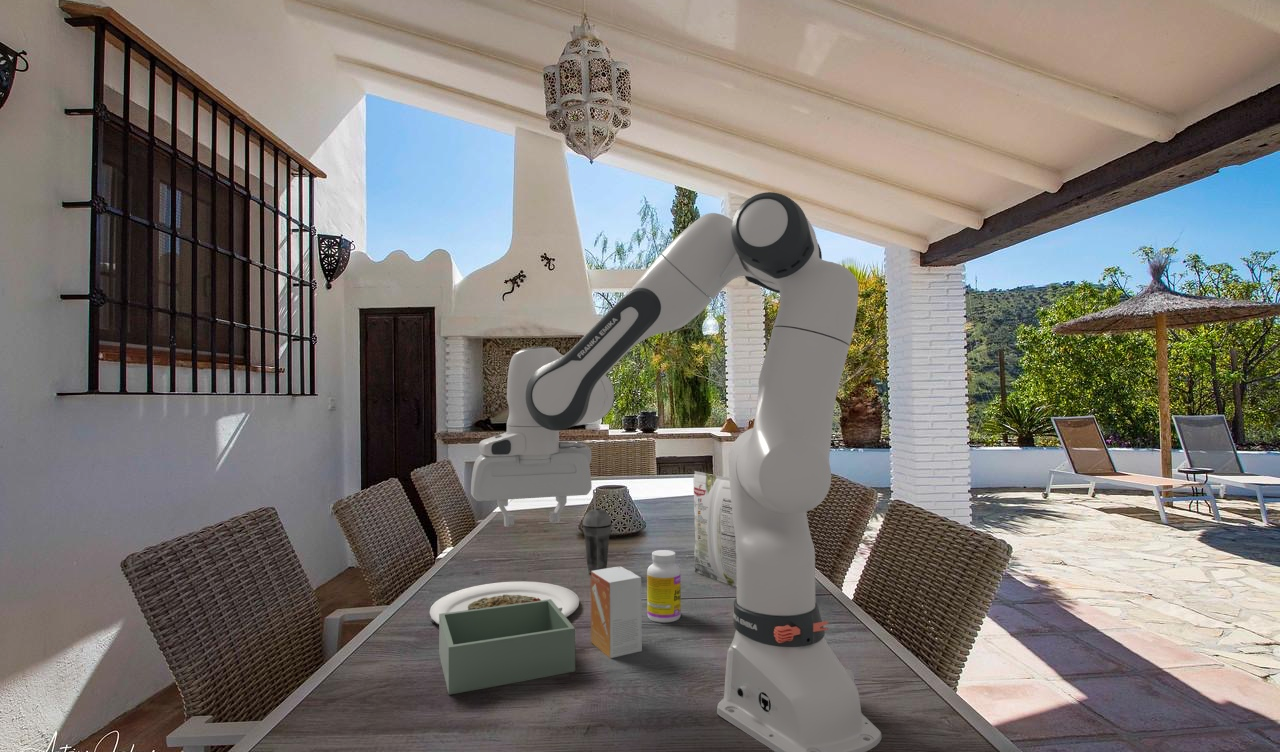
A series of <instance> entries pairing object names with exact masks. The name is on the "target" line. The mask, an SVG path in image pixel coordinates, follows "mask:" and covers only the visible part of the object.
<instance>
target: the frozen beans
mask: <svg viewBox="0 0 1280 752" xmlns="http://www.w3.org/2000/svg"><path fill="white" fill-rule="evenodd" d="M693 509H694V510H693V511H694V535H695V537H694V538H695V539H694V554H693V555H694V556H693V557H694V558H693V559H694V560H693V561H694V562H693V563H694V572H695V573H696V574H700V575H702V576H705V577H708V578H710V579H713V580H715V581H719V582H721V583H724V584H727V585H730V586H732V587H734V588H737V584H736V540H735V531H734V523H733V513H732V503H731V491H730V477H727V476H720V475H716V474H711V473H707V472H702V471H696V470H694V475H693Z"/></svg>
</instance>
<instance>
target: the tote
mask: <svg viewBox="0 0 1280 752" xmlns="http://www.w3.org/2000/svg"><path fill="white" fill-rule="evenodd" d="M561 611H562V610H560V608H558V607H557V606H556V605H555V604H554V602H553V601H552V600H551V599H548V600H541V601H533V602H526V603H518V604H510V605H503V606H495V607H488V608H480V609H473V610H465V611H457V612H450V613H442V614H439V624H438V625H439V626H438V631H439V632H438V633H439V634H438V649H439V650H438V653H439V654H438V656H439V660H440V664H441V668H442V673H443V676H444V681H445V684H446V689H447V693H448V695H449V696H450V695H454V694H461V693H465V692H466V693H467V692H470V691H471V692H472V691H477V690H481V689H483V690H484V689H488V688H493V687H499V686H504V685H509V684H514V683H515V684H516V683H519V682H525V681H530V680H535V679H536V680H537V679H539V678H546V677H552V676H557V675H562V674H567V673H572V672H576V627H574V626H573V624H572V623H571V621H570V620H569V619H568V617H565V616H564V614H563V613H562V612H561Z"/></svg>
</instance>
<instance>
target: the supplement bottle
mask: <svg viewBox="0 0 1280 752" xmlns="http://www.w3.org/2000/svg"><path fill="white" fill-rule="evenodd" d="M651 560H652V563H651V564H650V565H649V566H648V568H647V570H646V571H647V572H646V583H647V584H646V587H647V588H646V591H647V593H646V596H647V598H646V600H647V603H646V605H647V606H646V613H647V618H648V619H649V620H650V621H652V622H656V623H662V624H663V623H665V624H666V623H672V622H676V621H678V620H680V618H681V616H682V615H681V614H682V613H681V611H682V609H681V608H682V603H681V602H682V601H681V599H682V598H681V590H682V589H681V588H682V587H681V582H682V581H681V568H680V567H679V566H678V564H676V563H675V561H676V552H675V551H673V550H670V549H669V550H668V549H658V550H654V551H652V553H651Z"/></svg>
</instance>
